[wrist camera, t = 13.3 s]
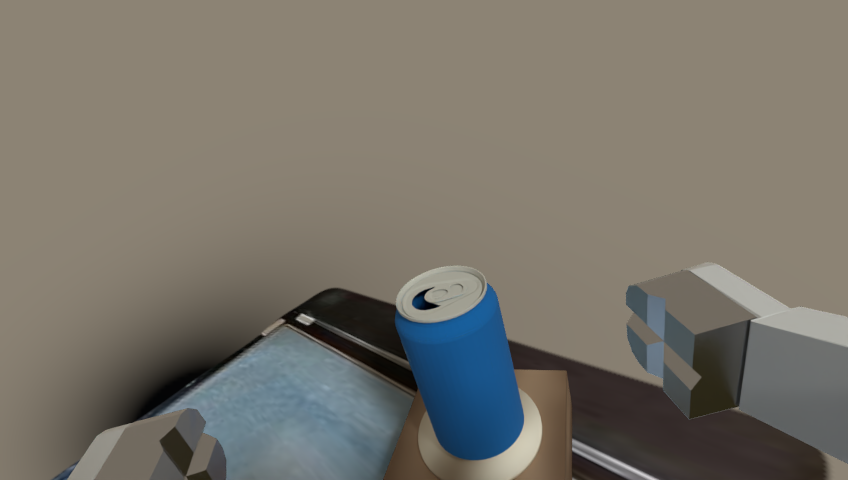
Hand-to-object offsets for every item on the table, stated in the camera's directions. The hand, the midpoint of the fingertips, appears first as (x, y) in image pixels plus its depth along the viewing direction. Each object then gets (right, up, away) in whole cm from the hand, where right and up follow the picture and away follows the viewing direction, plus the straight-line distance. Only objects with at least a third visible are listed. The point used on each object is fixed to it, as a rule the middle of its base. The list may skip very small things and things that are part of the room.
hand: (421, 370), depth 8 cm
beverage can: (+4, -11, +23) cm, 26 cm away
